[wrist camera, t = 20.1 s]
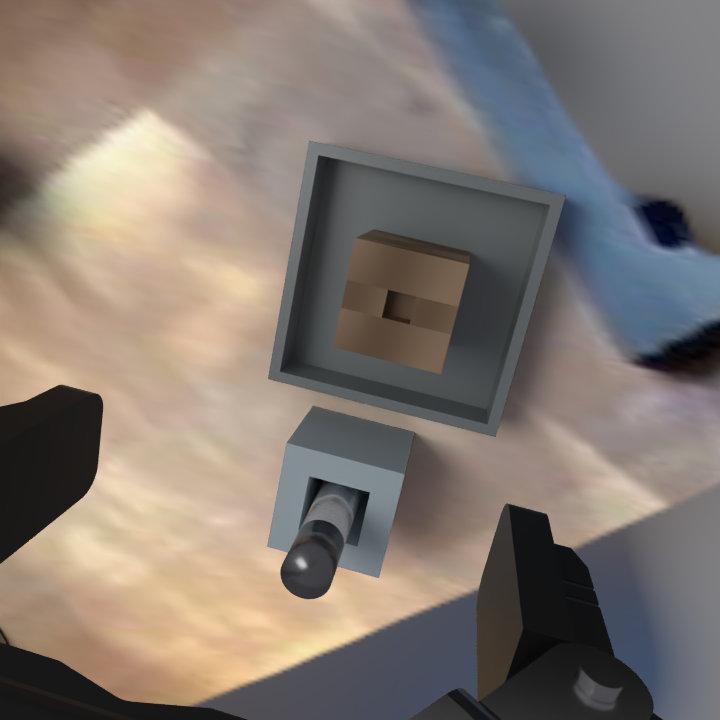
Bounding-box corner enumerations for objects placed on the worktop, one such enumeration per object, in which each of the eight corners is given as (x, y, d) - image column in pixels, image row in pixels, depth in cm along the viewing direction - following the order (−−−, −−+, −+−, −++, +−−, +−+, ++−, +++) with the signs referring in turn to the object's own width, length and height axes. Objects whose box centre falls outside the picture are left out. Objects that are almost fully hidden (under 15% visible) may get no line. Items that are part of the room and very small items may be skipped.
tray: (493, 418, 38) (495, 436, 36) (282, 364, 40) (268, 378, 37) (558, 194, 35) (566, 195, 32) (322, 144, 36) (309, 140, 33)
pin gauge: (366, 488, 41) (326, 605, 30) (330, 478, 41) (276, 590, 30) (374, 454, 40) (336, 561, 29) (337, 444, 41) (285, 546, 29)
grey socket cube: (391, 523, 41) (378, 578, 36) (295, 497, 42) (267, 546, 36) (414, 432, 39) (404, 474, 34) (312, 406, 40) (286, 443, 34)
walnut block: (469, 251, 36) (469, 264, 30) (445, 345, 37) (440, 374, 31) (373, 229, 36) (355, 237, 30) (353, 322, 38) (332, 347, 32)
